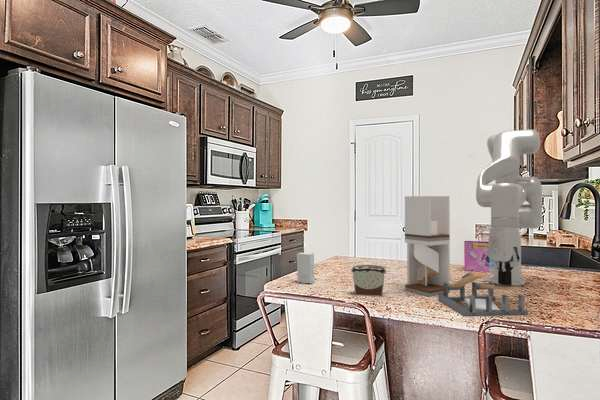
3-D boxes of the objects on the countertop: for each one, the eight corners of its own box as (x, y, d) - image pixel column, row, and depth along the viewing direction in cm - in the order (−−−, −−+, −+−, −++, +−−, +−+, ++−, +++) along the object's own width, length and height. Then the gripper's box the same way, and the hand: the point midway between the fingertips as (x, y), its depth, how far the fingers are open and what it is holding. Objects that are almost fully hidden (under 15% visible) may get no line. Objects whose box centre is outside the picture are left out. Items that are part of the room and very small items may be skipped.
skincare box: (315, 282, 159) (314, 252, 158) (310, 284, 155) (310, 254, 155) (301, 281, 161) (301, 252, 161) (296, 283, 157) (296, 253, 157)
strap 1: (447, 290, 130) (445, 284, 131) (459, 290, 131) (458, 284, 132) (472, 278, 114) (470, 270, 115) (486, 277, 114) (484, 270, 115)
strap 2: (475, 289, 131) (474, 282, 132) (487, 289, 132) (486, 282, 132) (507, 292, 114) (506, 284, 114) (521, 292, 114) (520, 284, 114)
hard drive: (464, 297, 129) (471, 307, 117) (490, 299, 127) (501, 309, 115) (464, 302, 129) (471, 313, 117) (490, 304, 127) (501, 315, 115)
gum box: (519, 271, 181) (519, 242, 181) (522, 274, 174) (522, 244, 174) (464, 268, 190) (464, 240, 190) (464, 271, 183) (464, 242, 183)
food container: (386, 292, 141) (386, 265, 141) (386, 296, 135) (386, 267, 135) (352, 290, 144) (352, 263, 144) (351, 294, 138) (350, 266, 138)
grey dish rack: (437, 299, 130) (437, 282, 130) (492, 298, 132) (492, 281, 132) (465, 316, 112) (464, 296, 112) (527, 314, 114) (527, 294, 114)
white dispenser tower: (405, 290, 145) (404, 196, 144) (425, 286, 150) (424, 196, 150) (429, 296, 135) (429, 196, 135) (449, 292, 140) (449, 196, 140)
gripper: (479, 222, 125) (479, 279, 125) (508, 224, 110) (508, 289, 110) (501, 223, 126) (501, 279, 125) (533, 224, 111) (533, 289, 110)
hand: (504, 284), depth 118 cm, fingers closed
